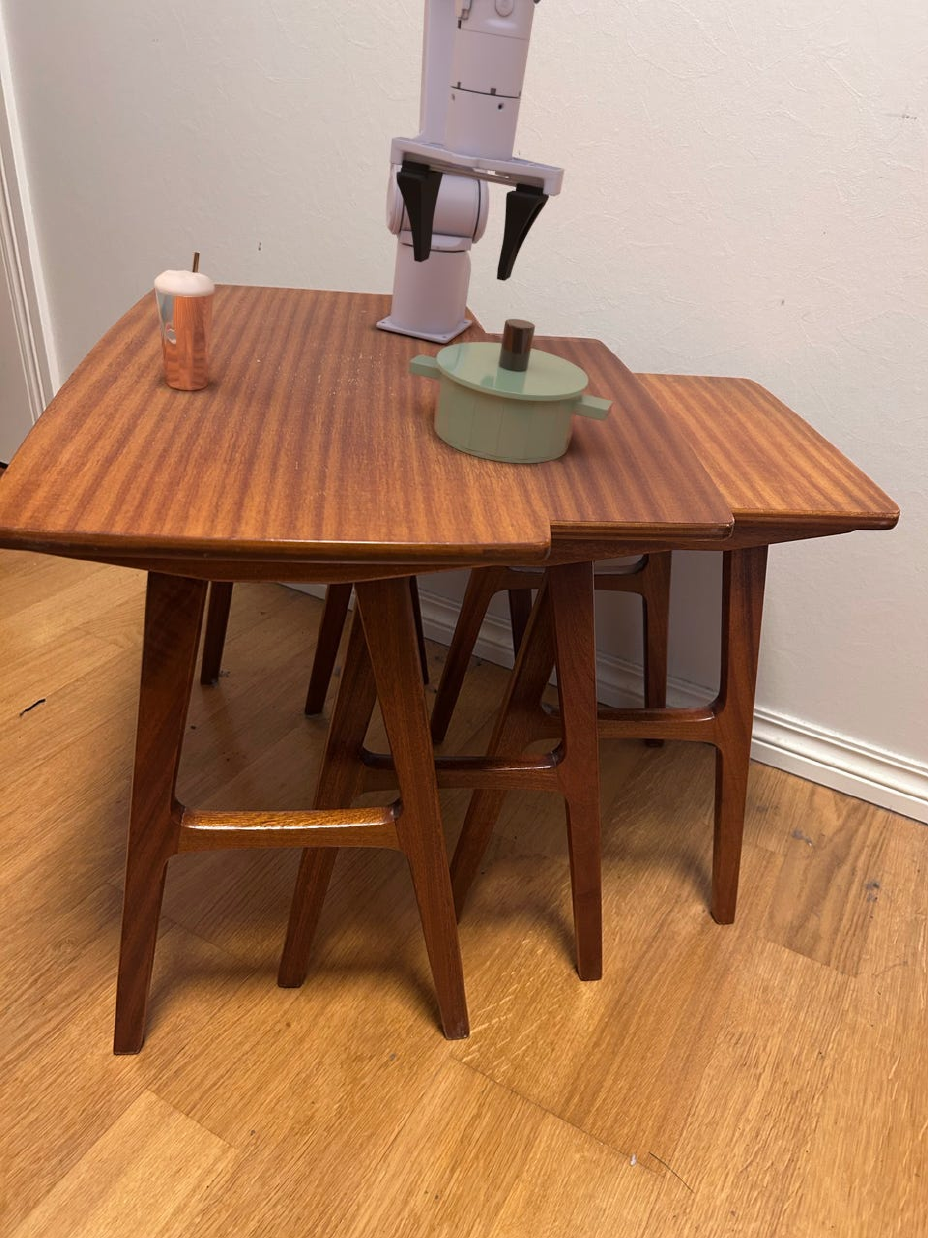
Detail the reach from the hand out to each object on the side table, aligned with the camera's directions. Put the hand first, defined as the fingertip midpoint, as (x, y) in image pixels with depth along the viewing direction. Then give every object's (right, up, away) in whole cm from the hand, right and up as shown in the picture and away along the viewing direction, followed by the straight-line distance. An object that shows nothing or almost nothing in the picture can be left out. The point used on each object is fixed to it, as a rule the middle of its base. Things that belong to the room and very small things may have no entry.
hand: (462, 268), depth 81 cm
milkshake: (-23, -11, -3) cm, 26 cm away
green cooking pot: (+3, -15, -3) cm, 16 cm away
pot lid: (+4, -11, -6) cm, 13 cm away
